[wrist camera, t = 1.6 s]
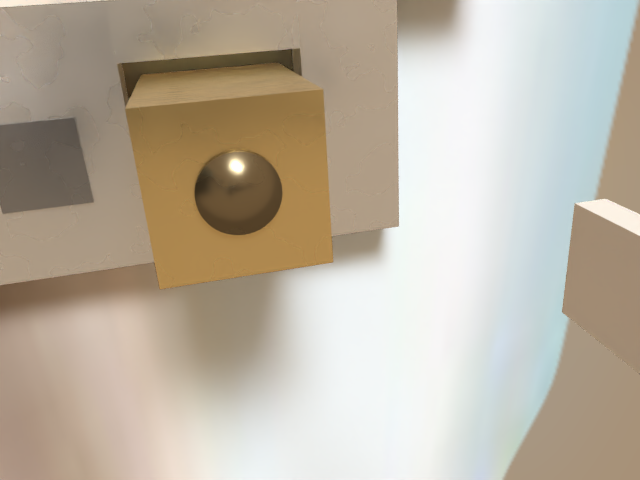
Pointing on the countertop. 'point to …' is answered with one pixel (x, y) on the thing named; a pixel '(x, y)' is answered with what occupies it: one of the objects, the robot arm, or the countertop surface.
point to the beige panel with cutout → (112, 128)
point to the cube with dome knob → (231, 171)
